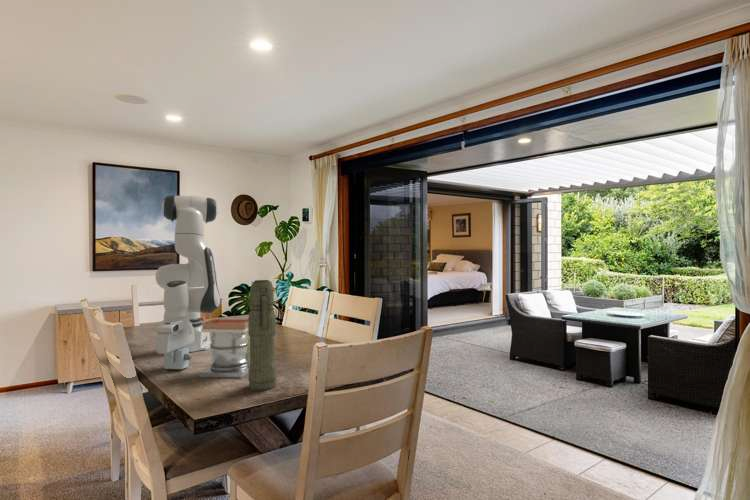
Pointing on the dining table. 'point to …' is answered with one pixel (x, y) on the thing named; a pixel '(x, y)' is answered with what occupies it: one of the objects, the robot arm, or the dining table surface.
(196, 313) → the robot arm
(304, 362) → the dining table surface
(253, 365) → the thermos
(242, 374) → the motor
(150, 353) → the dining table surface
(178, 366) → the pale grey rectangular block
